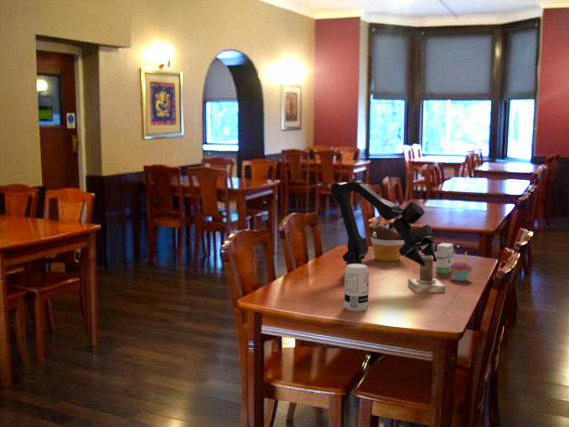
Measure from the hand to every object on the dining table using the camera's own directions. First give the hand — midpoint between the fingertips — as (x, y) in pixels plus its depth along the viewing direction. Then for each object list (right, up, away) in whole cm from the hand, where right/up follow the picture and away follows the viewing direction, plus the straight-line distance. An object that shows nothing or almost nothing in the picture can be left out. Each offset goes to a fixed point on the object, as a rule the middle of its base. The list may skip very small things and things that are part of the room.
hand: (430, 263), depth 242 cm
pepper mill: (-1, -7, +2) cm, 8 cm away
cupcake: (+16, -8, +17) cm, 24 cm away
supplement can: (-31, -14, -25) cm, 42 cm away
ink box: (+13, -6, +30) cm, 33 cm away
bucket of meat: (-7, -3, +54) cm, 54 cm away
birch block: (-1, -10, +2) cm, 11 cm away
